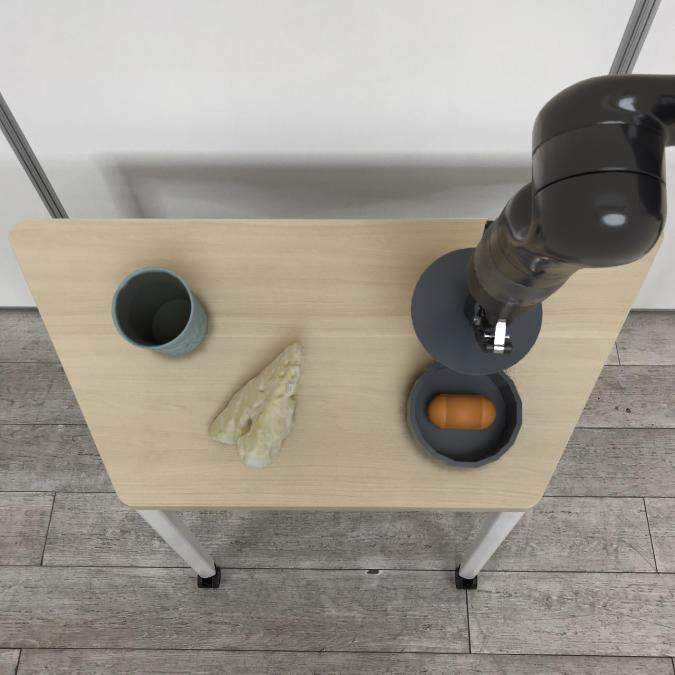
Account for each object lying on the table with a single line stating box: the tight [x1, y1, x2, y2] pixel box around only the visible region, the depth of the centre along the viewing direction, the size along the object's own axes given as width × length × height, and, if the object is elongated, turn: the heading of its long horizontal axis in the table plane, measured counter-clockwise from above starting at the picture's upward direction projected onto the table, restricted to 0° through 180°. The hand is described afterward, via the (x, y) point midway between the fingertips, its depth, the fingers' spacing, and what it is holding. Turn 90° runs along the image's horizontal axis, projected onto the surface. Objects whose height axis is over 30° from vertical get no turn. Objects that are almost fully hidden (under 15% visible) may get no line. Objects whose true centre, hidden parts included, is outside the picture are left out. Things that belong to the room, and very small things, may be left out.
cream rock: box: [207, 341, 306, 469], centre depth 80 cm, size 15×7×15 cm
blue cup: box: [110, 266, 209, 356], centre depth 80 cm, size 10×10×12 cm
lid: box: [410, 247, 544, 375], centre depth 67 cm, size 15×15×7 cm
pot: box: [405, 361, 523, 469], centre depth 80 cm, size 14×14×6 cm
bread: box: [427, 394, 496, 430], centre depth 80 cm, size 9×4×4 cm, turn 88°
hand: (479, 307), depth 68 cm, fingers closed on lid, 3 cm apart
